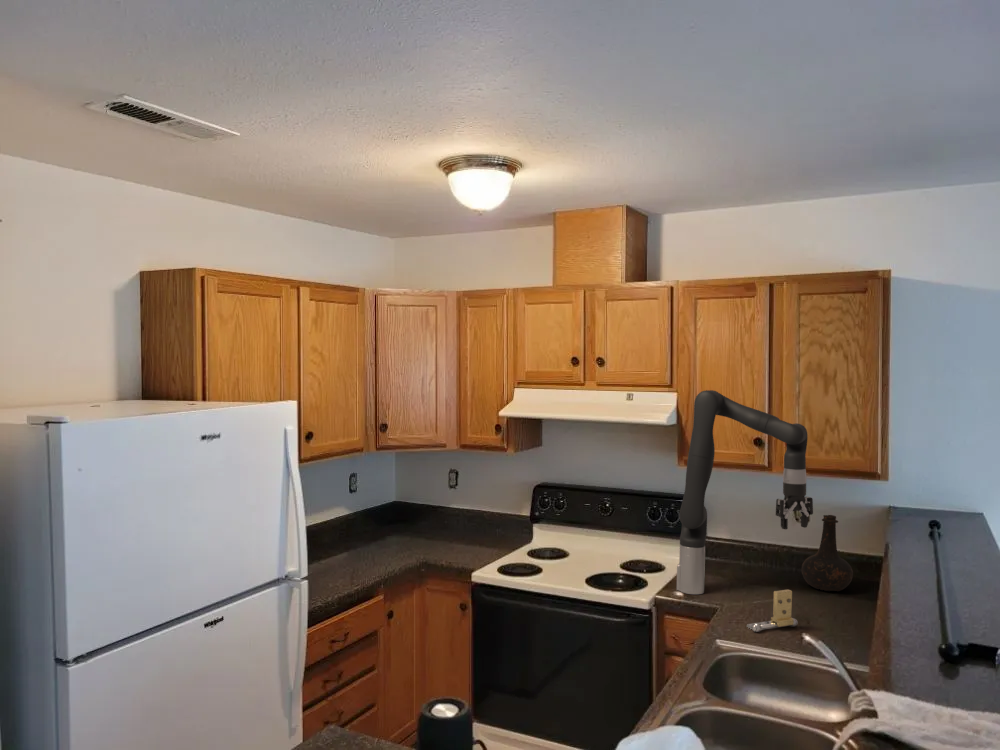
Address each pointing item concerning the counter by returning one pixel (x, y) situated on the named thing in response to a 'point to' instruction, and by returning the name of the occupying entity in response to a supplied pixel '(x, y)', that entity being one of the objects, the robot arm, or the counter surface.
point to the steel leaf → (767, 625)
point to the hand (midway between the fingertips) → (794, 528)
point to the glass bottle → (827, 562)
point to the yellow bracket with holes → (782, 608)
